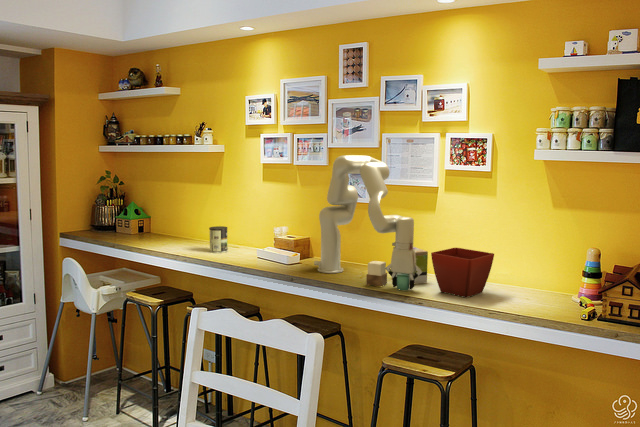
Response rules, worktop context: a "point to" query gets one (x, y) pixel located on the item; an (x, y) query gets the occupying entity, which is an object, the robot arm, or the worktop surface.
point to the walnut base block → (376, 280)
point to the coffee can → (218, 239)
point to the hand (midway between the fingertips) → (403, 287)
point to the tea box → (420, 265)
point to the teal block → (403, 282)
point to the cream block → (376, 268)
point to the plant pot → (462, 270)
